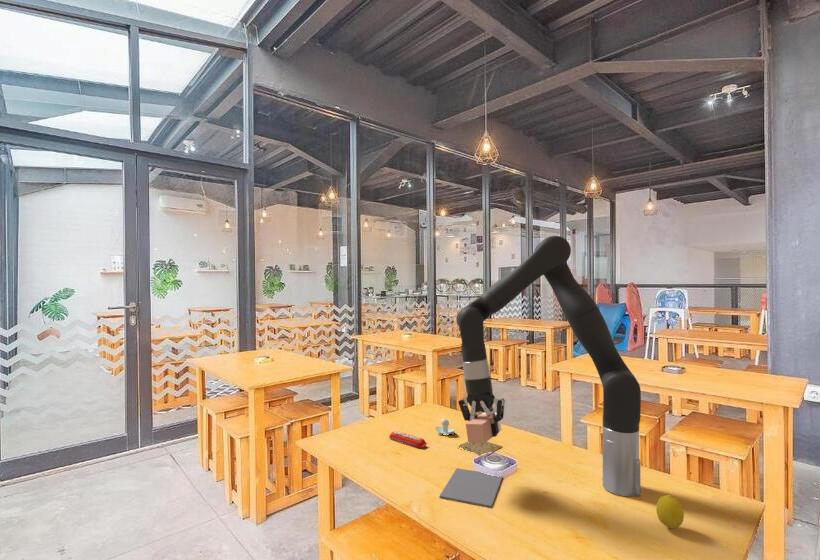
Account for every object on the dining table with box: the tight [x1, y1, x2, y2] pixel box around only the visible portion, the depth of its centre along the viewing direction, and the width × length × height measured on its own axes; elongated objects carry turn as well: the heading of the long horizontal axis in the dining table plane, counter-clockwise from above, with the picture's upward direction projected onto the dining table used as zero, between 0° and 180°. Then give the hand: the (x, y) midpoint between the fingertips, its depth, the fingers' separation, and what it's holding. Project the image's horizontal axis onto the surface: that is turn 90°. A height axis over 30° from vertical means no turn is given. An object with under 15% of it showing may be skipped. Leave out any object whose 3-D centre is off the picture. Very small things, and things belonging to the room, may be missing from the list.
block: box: [465, 412, 503, 443], centre depth 122 cm, size 5×5×12 cm
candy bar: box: [388, 430, 427, 449], centre depth 154 cm, size 16×4×3 cm, turn 50°
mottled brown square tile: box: [458, 441, 504, 456], centre depth 150 cm, size 12×12×1 cm
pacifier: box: [435, 418, 456, 435], centre depth 163 cm, size 7×6×6 cm
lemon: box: [655, 494, 685, 530], centre depth 101 cm, size 6×6×8 cm
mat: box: [438, 467, 503, 508], centre depth 121 cm, size 14×18×1 cm
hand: (485, 435), depth 122 cm, fingers closed on block, 5 cm apart
